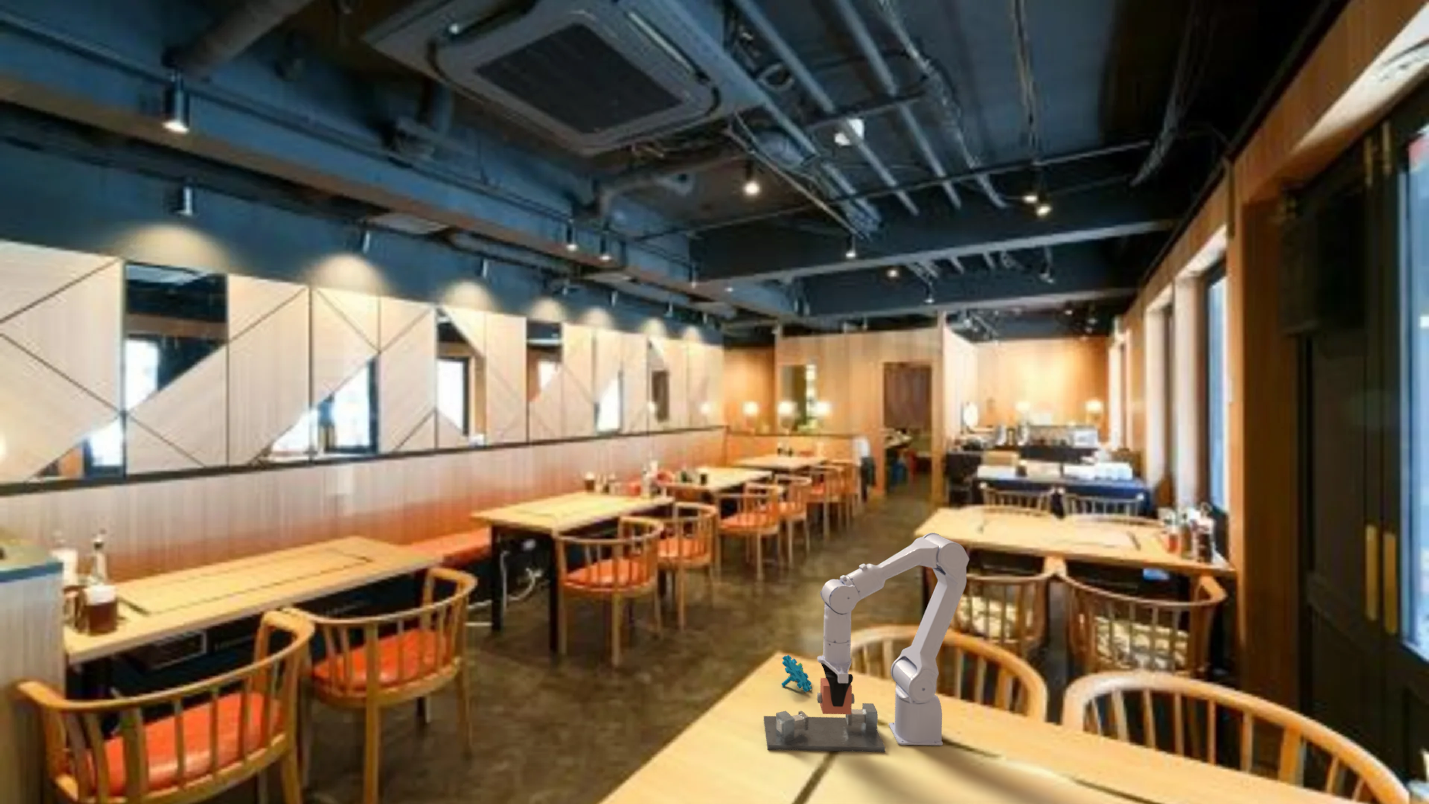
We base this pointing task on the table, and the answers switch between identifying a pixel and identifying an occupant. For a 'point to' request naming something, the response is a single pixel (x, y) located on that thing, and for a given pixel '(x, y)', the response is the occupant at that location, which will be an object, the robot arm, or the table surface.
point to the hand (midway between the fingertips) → (835, 700)
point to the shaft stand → (825, 731)
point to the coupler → (826, 701)
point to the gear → (795, 674)
